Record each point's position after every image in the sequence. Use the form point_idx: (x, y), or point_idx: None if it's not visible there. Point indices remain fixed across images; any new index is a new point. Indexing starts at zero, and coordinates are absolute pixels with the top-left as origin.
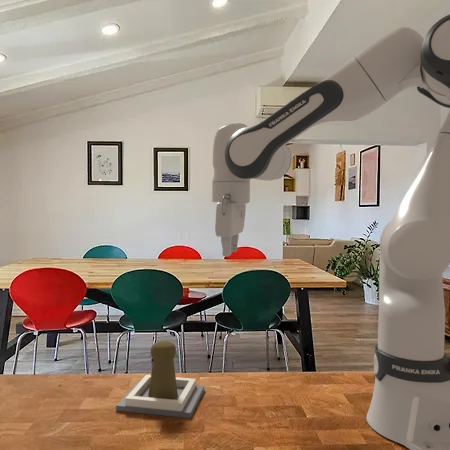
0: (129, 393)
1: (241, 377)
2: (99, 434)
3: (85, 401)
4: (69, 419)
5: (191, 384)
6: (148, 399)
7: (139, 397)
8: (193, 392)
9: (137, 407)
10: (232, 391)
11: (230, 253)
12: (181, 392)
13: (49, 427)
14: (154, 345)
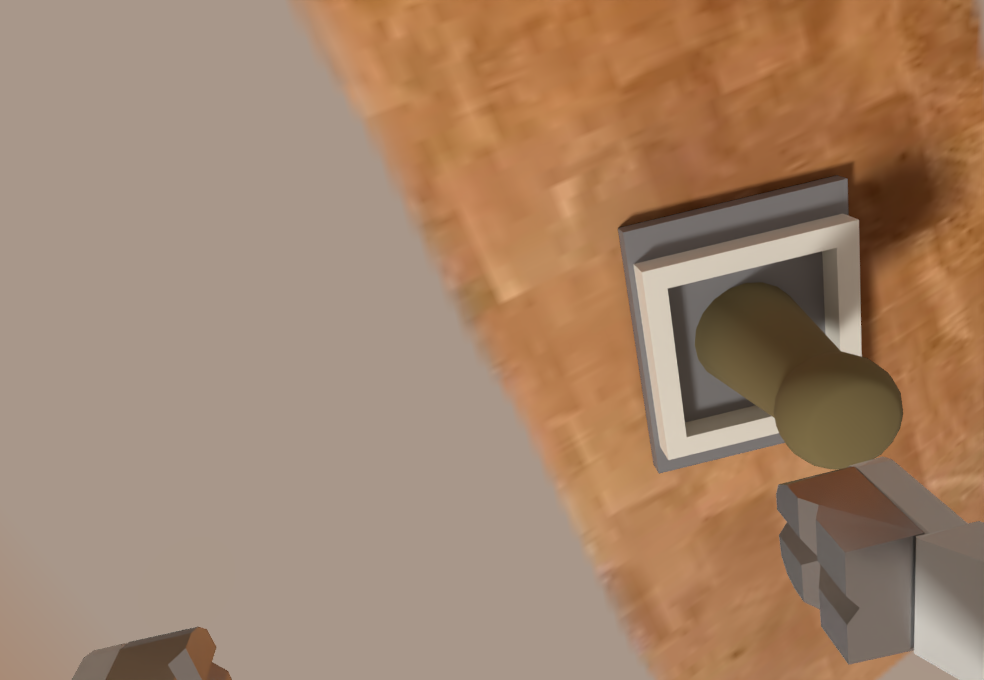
0: None
1: (431, 128)
2: (974, 374)
3: None
4: None
5: (699, 263)
6: (855, 340)
7: None
8: (694, 244)
9: None
10: (586, 112)
11: (894, 472)
12: (706, 286)
13: (962, 507)
14: (882, 450)
